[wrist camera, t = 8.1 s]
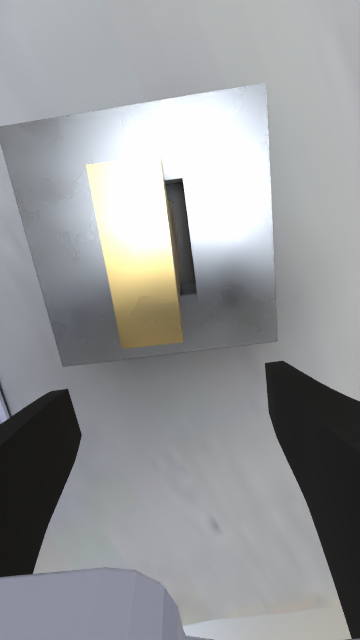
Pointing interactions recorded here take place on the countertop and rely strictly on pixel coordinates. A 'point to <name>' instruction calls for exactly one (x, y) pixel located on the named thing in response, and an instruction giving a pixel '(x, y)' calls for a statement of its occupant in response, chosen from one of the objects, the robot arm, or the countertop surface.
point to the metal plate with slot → (202, 210)
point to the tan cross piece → (139, 249)
